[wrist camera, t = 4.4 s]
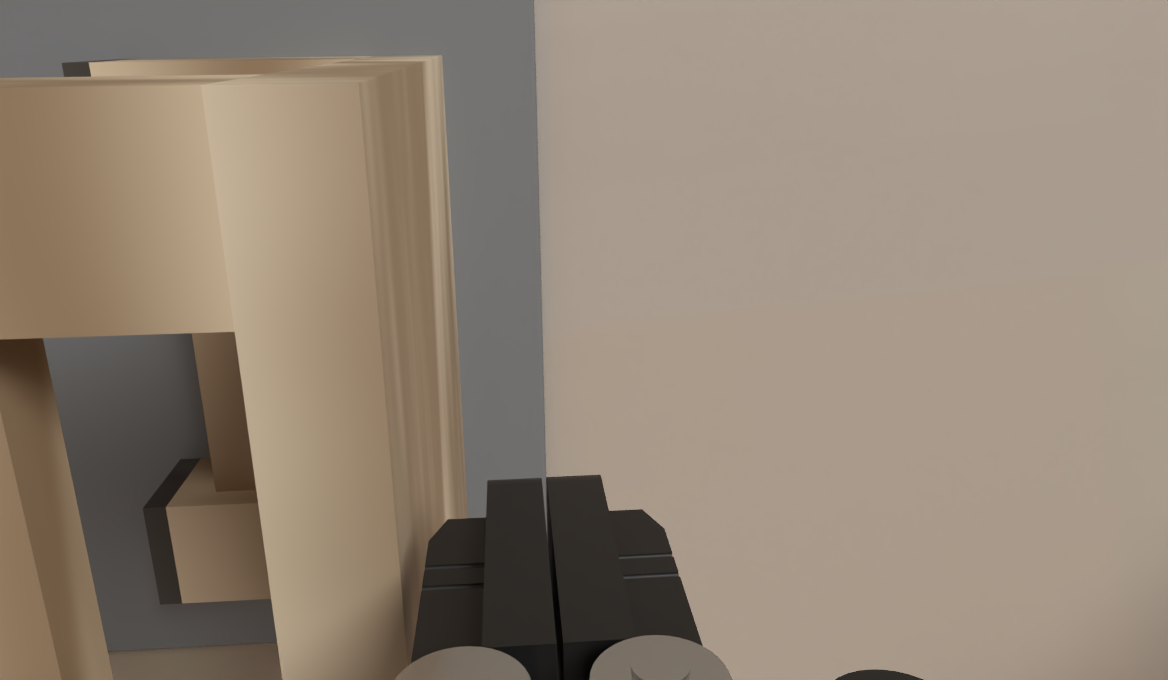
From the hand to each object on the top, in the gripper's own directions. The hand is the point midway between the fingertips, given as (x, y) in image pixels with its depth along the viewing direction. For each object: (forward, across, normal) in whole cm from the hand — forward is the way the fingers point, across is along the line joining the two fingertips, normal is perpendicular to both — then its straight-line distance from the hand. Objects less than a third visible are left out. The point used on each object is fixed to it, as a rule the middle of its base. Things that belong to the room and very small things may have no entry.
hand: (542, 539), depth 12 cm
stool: (+11, +5, 0) cm, 12 cm away
